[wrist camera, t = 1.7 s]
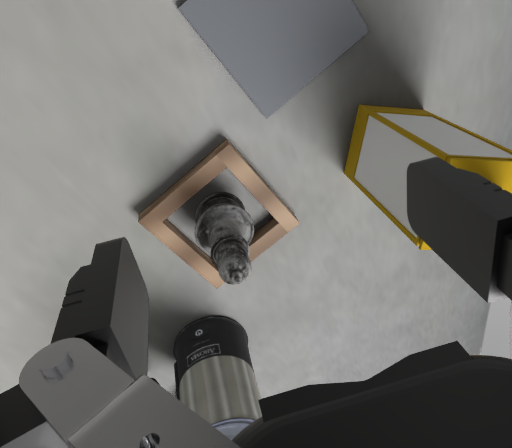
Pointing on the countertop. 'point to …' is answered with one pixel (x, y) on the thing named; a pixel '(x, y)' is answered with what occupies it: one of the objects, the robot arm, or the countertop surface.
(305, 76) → the slate mat
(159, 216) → the holder frame
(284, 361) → the countertop surface
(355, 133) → the soap bottle
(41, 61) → the countertop surface
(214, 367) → the milk frother
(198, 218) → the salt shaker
